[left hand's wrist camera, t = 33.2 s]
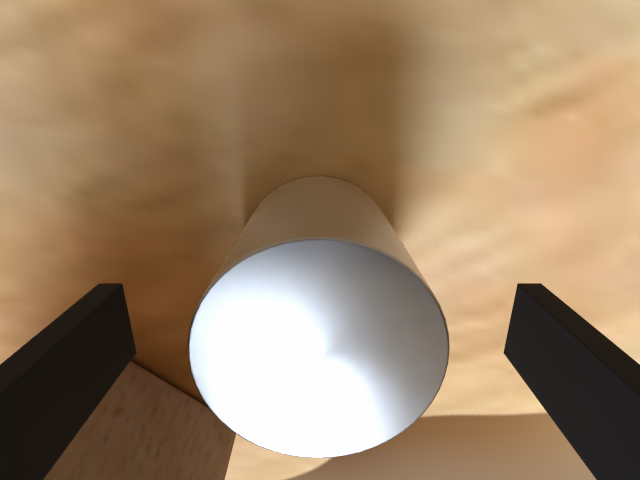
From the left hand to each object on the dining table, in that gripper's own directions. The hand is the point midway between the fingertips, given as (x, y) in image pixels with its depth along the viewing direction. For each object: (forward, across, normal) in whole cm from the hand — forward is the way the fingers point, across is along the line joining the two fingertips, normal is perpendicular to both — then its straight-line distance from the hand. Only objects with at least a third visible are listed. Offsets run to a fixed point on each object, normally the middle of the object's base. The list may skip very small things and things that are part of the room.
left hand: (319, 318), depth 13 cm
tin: (+8, 0, 0) cm, 8 cm away
